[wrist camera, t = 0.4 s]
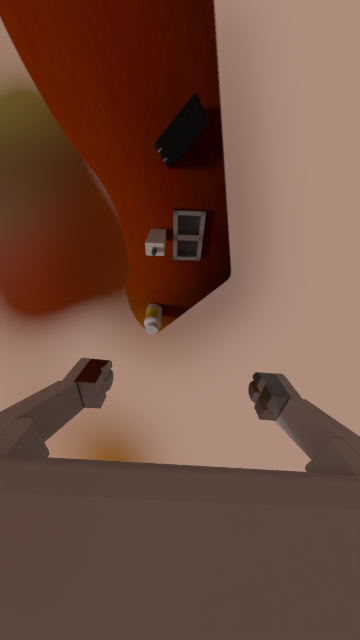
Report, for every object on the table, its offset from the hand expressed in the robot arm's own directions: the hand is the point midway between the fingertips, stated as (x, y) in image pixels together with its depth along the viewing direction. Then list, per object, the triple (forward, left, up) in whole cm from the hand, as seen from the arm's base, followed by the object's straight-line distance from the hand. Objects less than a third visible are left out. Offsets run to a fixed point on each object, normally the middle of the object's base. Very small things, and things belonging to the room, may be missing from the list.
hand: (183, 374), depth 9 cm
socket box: (+2, +6, -51) cm, 51 cm away
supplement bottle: (+33, +16, -51) cm, 63 cm away
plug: (+8, -1, -51) cm, 51 cm away
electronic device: (-11, -9, -51) cm, 53 cm away
